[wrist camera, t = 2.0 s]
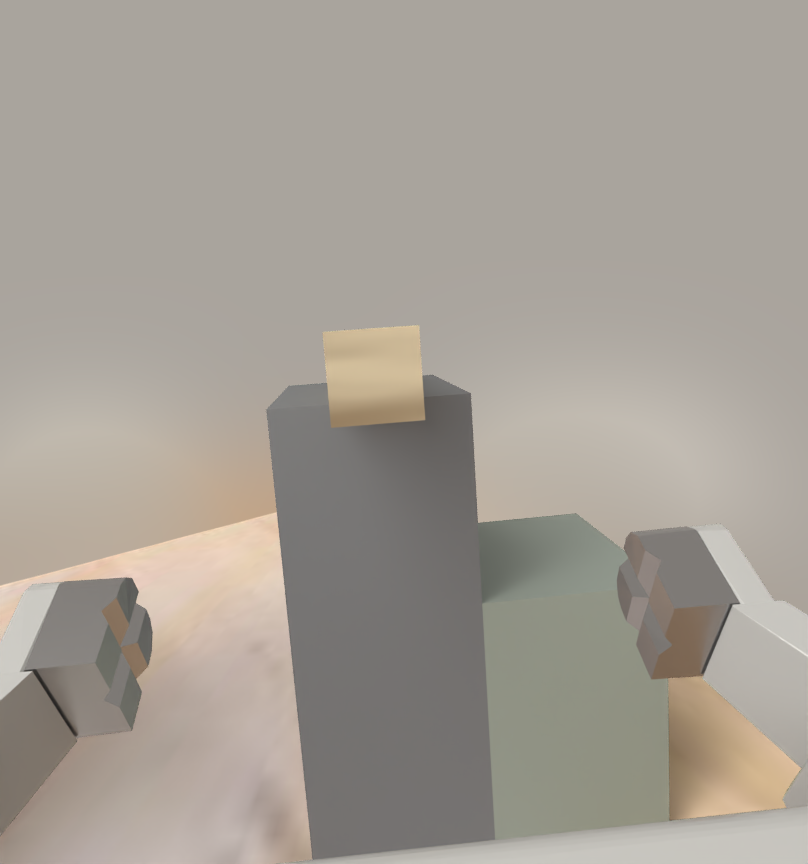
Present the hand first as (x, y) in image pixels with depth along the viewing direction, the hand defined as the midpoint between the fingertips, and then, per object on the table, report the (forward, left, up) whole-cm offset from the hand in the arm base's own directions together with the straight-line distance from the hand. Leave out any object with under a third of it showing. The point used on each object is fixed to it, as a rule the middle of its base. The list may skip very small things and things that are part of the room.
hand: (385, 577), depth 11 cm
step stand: (-16, +25, -25) cm, 39 cm away
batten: (-16, +17, +1) cm, 24 cm away
